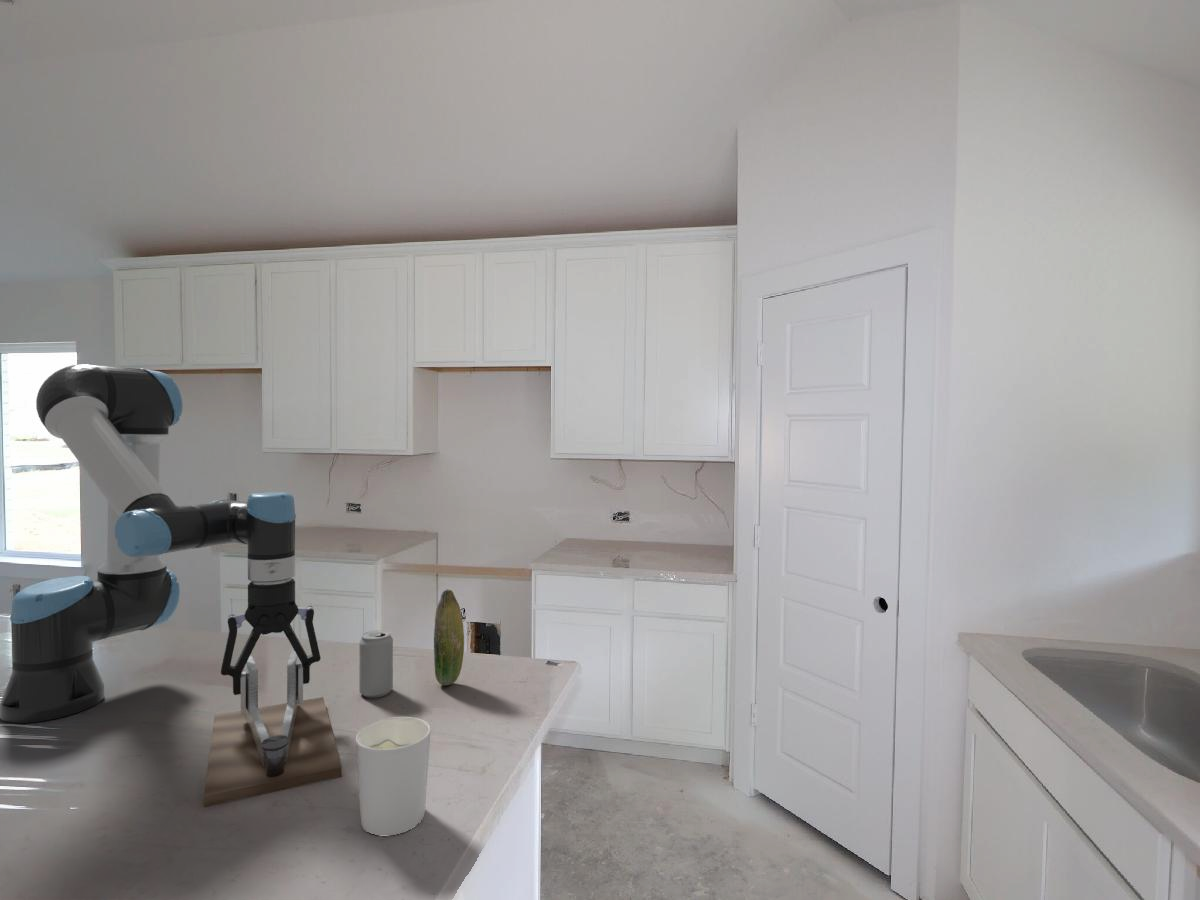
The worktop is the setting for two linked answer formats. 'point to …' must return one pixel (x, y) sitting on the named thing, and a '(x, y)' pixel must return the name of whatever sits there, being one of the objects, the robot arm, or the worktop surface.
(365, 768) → the candle holder
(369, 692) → the beverage can
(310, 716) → the walnut board
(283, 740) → the tongs hinge post
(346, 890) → the worktop surface
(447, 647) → the vegetable
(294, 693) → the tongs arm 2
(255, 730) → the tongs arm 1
